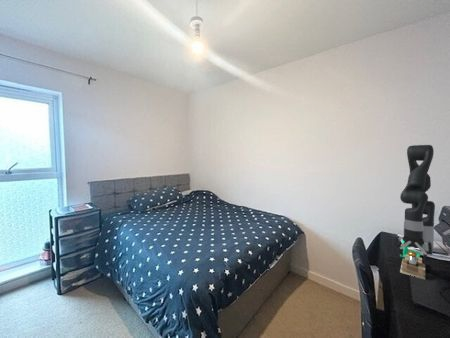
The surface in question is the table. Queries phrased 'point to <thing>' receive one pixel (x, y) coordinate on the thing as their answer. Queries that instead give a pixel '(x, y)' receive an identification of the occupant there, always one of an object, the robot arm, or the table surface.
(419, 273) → the dock board
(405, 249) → the camera mount
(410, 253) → the lock pin
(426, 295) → the table surface
